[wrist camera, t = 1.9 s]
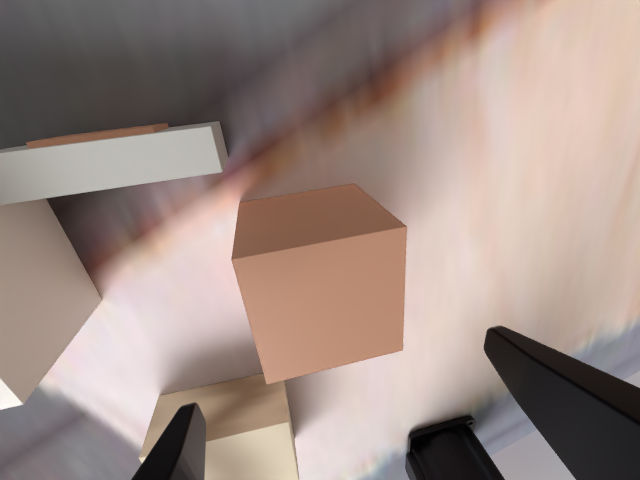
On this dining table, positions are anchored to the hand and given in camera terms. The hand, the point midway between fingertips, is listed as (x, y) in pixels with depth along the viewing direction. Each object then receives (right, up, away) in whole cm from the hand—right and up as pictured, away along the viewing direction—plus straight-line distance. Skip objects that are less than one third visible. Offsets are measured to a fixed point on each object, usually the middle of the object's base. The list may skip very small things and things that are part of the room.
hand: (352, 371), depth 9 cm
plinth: (-9, +8, +4) cm, 13 cm away
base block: (-7, -9, +13) cm, 17 cm away
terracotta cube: (-2, +4, +8) cm, 9 cm away
